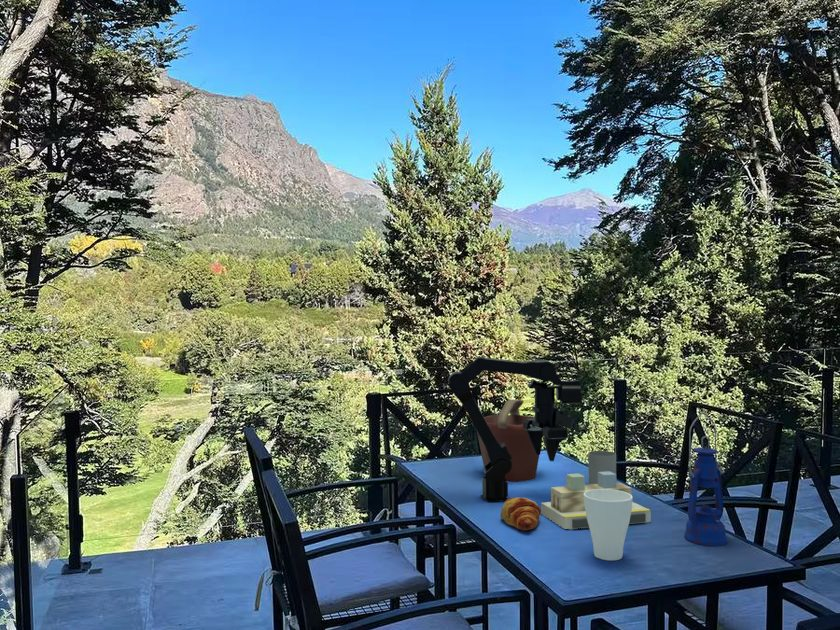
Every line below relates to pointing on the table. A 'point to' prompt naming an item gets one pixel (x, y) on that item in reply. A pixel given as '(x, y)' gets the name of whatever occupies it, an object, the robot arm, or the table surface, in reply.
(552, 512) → the dock
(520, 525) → the croissant
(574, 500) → the wooden block
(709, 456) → the lantern
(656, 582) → the table surface
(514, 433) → the bucket
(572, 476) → the grey-green cube
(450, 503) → the table surface
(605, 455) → the cup
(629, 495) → the cup
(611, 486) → the blue-grey cube
